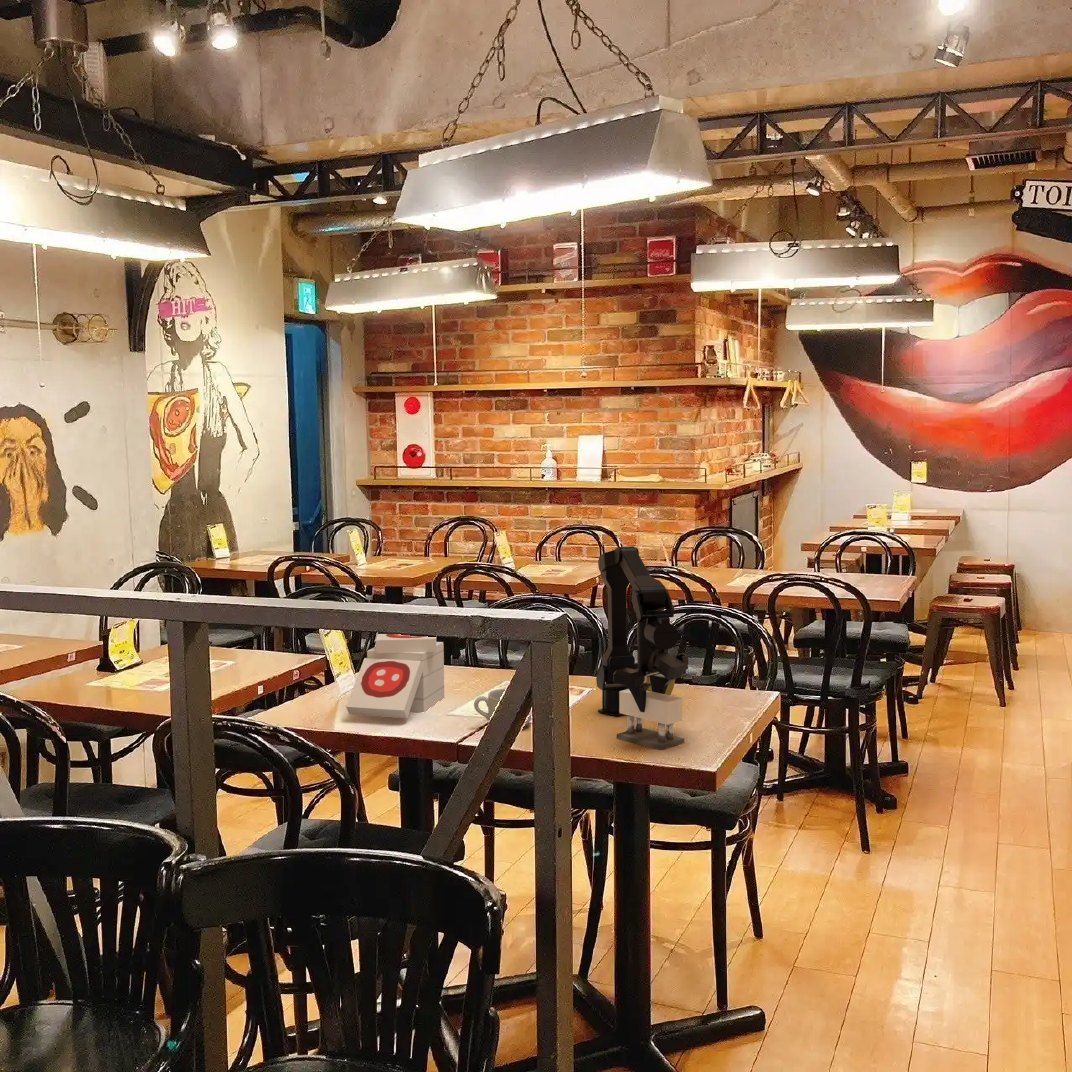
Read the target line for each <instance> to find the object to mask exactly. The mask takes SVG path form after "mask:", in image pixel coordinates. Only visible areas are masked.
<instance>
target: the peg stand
mask: <svg viewBox="0 0 1072 1072" xmlns="http://www.w3.org/2000/svg"><path fill="white" fill-rule="evenodd" d="M626 716H627V717H626V719H627V720H626V724H627V725H626V727H627V728H626V731H622V732H620V733H616V739H617V740H621V741H625V742H629V743H633V744H636V745H640V746H644V747H649V748H652V749H656V750H659V751H663V750H666V749H668V748H672V747H675V746H678V745H681V744H684V743H685V738H684V737H681V736H677V735H674V723H672V724H668V725H667V724H662V723H658V722H657V731H656V730H654V729H653V730H652V729H649V728H643V719H642V718H638V717H634V716H629V715H626Z"/></svg>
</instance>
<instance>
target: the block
mask: <svg viewBox="0 0 1072 1072" xmlns="http://www.w3.org/2000/svg"><path fill="white" fill-rule="evenodd" d="M619 713H621V714H624V715H626V716H628V715H629V716H634V718H635V717H638V718H642V720H647V721H650V722H653V723H654V722H655V723H657V724H658V723H662V724H665V725H666V724H667V725H668V724H672V723H673V724H674V723H679V722H681V721H683V697H678V696H674V695H671V694H670V695H665V694H661V693H656V692H652V691H647V692H646V706H645V712H640V710H639V708H638V706H637V704H636V702H635V700H634V698H633V696H632V694H631V692H630V690H629V689H627V690H623V691H619Z"/></svg>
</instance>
